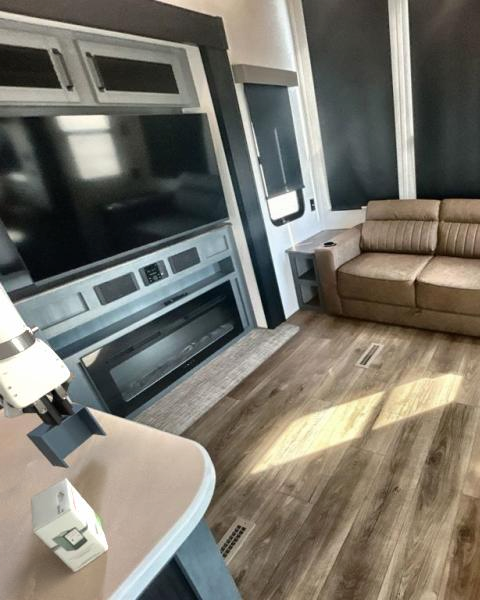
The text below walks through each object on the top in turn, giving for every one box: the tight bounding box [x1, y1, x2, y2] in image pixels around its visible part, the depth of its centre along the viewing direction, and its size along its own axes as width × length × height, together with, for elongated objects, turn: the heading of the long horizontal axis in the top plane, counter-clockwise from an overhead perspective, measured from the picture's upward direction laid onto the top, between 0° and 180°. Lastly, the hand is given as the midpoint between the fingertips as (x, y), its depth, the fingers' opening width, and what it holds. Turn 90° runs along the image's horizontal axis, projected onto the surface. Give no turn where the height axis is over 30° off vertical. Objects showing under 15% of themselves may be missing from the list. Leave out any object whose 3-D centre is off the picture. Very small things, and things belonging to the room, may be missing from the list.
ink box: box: [30, 477, 109, 573], centre depth 60 cm, size 9×5×12 cm, turn 45°
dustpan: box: [26, 394, 108, 469], centre depth 76 cm, size 16×9×4 cm
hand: (61, 418), depth 75 cm, fingers closed on dustpan, 2 cm apart
